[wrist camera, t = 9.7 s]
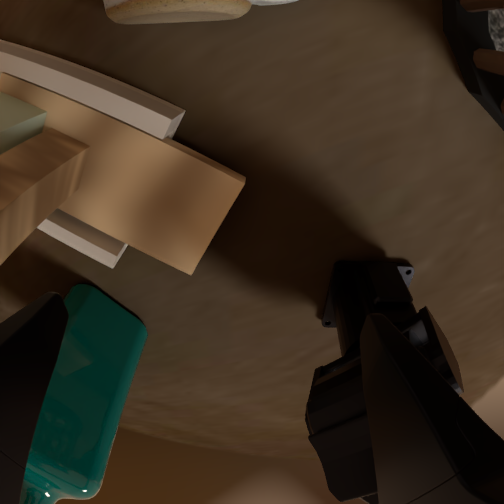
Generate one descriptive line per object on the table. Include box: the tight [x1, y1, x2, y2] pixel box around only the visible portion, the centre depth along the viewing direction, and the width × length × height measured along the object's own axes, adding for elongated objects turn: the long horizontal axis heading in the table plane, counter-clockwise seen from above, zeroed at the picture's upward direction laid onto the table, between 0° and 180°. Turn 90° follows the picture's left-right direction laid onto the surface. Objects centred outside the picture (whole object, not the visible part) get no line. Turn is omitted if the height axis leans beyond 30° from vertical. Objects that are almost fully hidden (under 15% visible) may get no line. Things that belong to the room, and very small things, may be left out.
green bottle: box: [19, 284, 148, 504], centre depth 19 cm, size 10×8×22 cm
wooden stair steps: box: [0, 72, 246, 275], centre depth 13 cm, size 18×8×13 cm, turn 61°
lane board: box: [0, 39, 186, 269], centre depth 17 cm, size 22×11×3 cm, turn 61°
